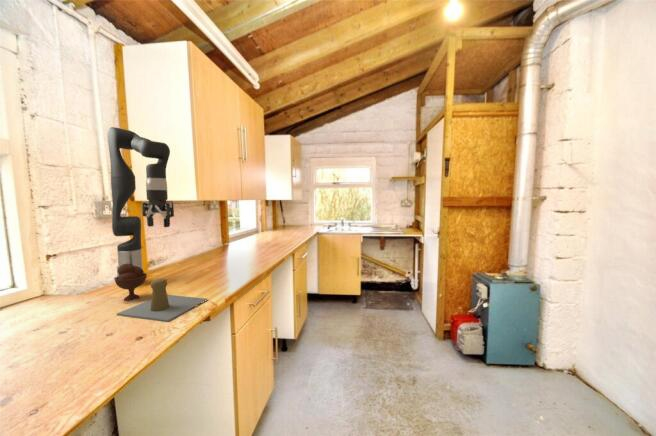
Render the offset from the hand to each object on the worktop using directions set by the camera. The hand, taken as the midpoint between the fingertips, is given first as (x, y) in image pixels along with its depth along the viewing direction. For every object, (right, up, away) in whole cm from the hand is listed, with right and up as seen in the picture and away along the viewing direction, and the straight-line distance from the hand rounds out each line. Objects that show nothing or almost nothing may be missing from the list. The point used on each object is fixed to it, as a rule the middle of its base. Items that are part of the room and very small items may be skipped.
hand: (158, 226), depth 113 cm
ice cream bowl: (-9, -30, -4) cm, 32 cm away
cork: (+10, -30, -15) cm, 35 cm away
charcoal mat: (+11, -31, -13) cm, 35 cm away
